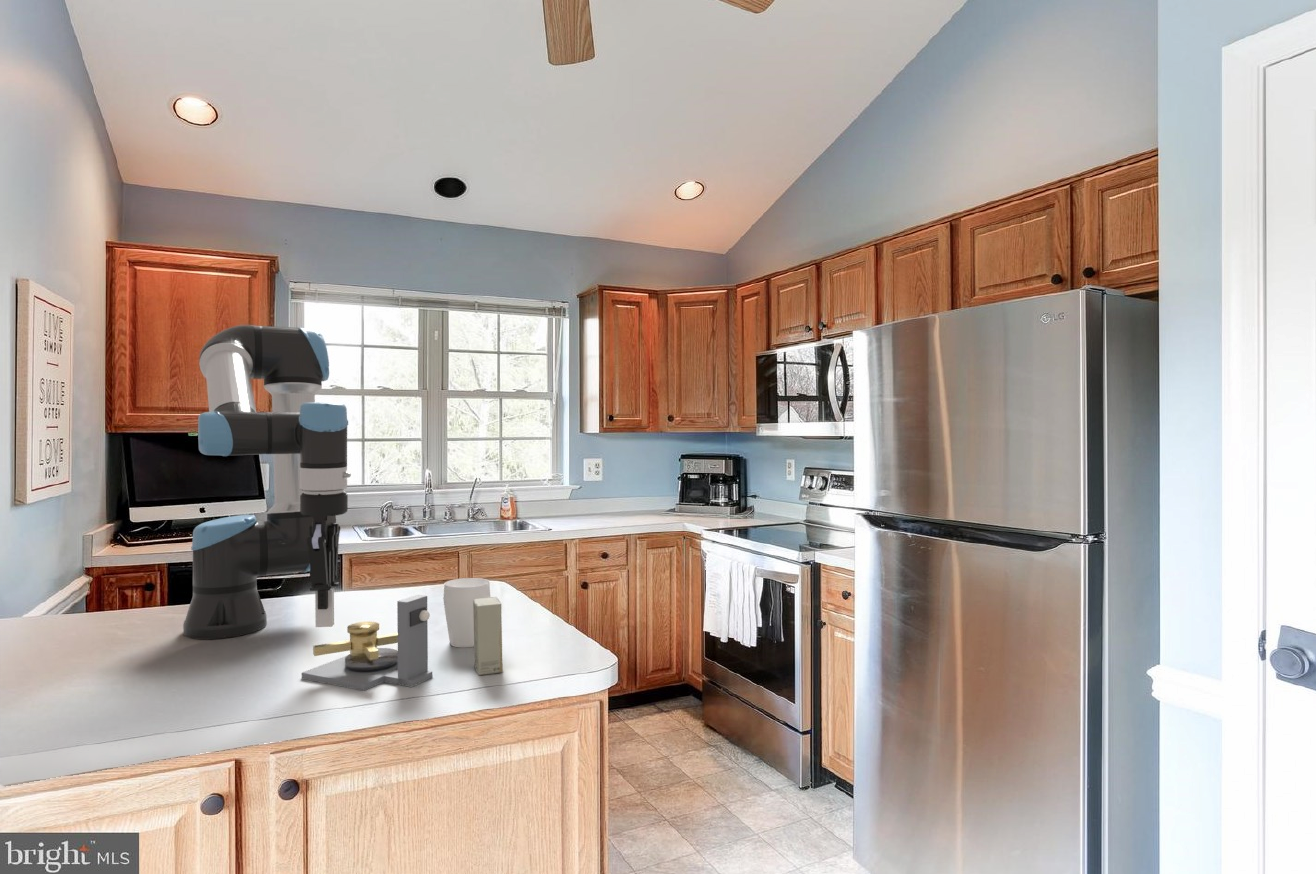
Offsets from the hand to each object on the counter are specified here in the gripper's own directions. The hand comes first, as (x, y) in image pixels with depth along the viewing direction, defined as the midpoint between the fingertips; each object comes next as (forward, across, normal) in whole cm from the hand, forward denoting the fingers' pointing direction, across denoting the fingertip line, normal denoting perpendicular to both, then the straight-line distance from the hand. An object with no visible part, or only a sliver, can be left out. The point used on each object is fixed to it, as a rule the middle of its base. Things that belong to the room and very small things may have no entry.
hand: (324, 625), depth 132 cm
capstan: (+7, -1, -7) cm, 10 cm away
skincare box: (+8, -3, -28) cm, 29 cm away
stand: (+8, -3, -9) cm, 13 cm away
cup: (+9, +13, -23) cm, 28 cm away
